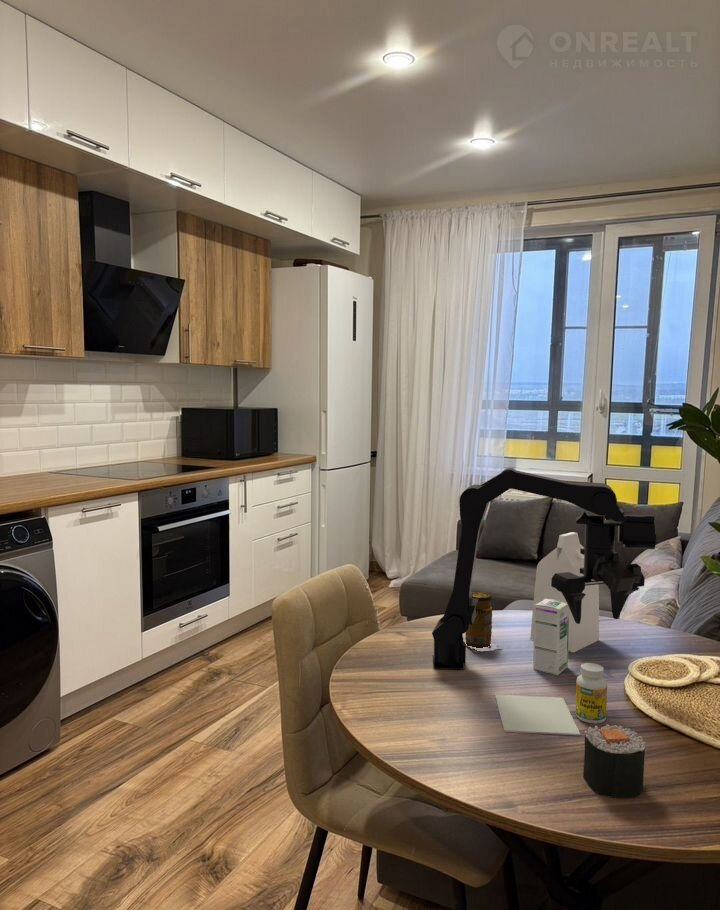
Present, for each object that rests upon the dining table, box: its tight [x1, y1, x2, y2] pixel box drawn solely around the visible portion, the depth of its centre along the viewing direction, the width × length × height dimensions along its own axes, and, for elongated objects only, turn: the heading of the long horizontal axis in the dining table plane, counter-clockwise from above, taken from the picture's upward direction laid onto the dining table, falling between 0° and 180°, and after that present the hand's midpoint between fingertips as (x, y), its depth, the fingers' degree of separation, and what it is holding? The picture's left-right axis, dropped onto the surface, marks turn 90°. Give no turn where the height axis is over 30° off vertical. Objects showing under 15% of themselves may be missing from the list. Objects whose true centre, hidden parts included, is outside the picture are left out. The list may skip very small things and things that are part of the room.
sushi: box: [582, 724, 647, 799], centre depth 102 cm, size 8×8×8 cm
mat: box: [494, 694, 581, 736], centre depth 124 cm, size 13×14×1 cm
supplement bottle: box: [575, 662, 608, 725], centre depth 122 cm, size 5×5×10 cm
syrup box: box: [532, 599, 569, 676], centre depth 144 cm, size 6×6×14 cm
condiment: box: [463, 591, 498, 653], centre depth 157 cm, size 7×8×12 cm
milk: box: [529, 531, 600, 653], centre depth 161 cm, size 12×12×26 cm
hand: (596, 620), depth 137 cm, fingers open, 9 cm apart
